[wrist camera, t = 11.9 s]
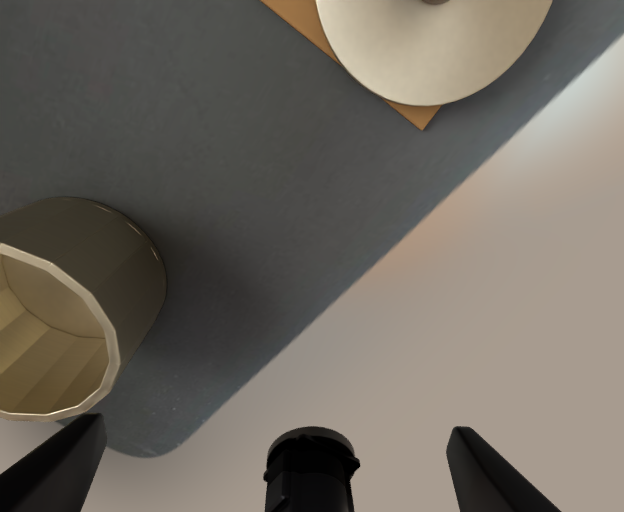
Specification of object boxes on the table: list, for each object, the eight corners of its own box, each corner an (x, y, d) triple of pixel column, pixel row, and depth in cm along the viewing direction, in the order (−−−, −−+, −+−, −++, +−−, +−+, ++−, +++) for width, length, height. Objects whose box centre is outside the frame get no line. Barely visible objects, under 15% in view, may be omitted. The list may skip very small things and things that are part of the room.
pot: (160, 203, 20) (102, 249, 14) (172, 342, 24) (130, 425, 18) (-20, 190, 20) (-159, 232, 14) (21, 335, 23) (-74, 418, 17)
